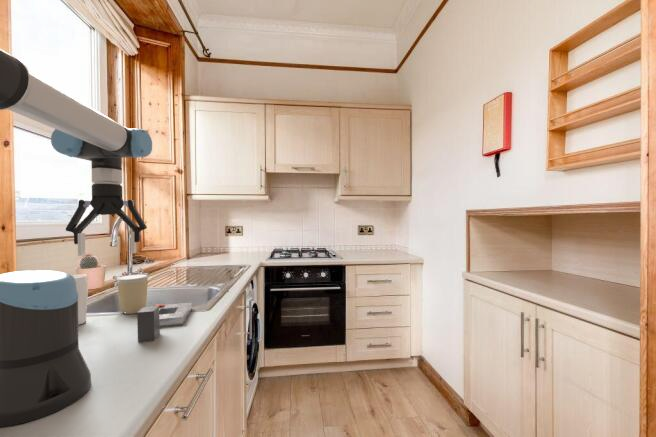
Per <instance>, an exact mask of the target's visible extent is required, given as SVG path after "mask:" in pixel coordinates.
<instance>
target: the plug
mask: <svg viewBox="0 0 656 437" xmlns="http://www.w3.org/2000/svg"><path fill="white" fill-rule="evenodd" d="M136 316H137V317H136V320H137V322H136V323H137V324H136V325H137V342H138V343H146V342H154V341H156V340H157V338H158V337H159V335H160V333H161V332H160V331H161V330H160V328H161V327H160V325H159V306H154V305H153V306H146V307H143V308H142V309H141V310H139V311H138V312H137V313H136Z"/></svg>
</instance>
